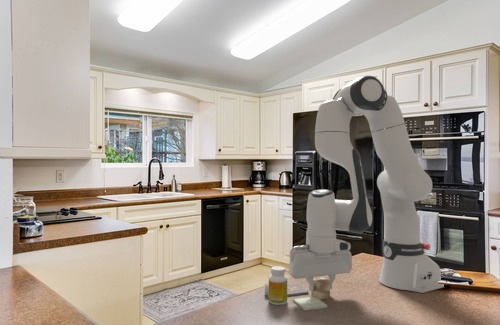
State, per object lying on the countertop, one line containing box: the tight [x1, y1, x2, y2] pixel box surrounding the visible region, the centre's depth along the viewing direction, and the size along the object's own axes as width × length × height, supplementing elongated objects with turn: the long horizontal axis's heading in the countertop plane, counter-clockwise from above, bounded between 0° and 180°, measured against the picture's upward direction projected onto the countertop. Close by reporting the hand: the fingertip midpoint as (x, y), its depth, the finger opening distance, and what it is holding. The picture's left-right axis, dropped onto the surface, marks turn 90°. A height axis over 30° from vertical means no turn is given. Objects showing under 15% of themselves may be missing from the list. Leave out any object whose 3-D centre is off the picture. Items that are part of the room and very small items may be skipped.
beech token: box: [310, 276, 331, 300], centre depth 107 cm, size 4×4×5 cm
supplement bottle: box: [268, 265, 288, 306], centre depth 102 cm, size 5×5×10 cm
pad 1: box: [287, 284, 309, 297], centre depth 111 cm, size 7×7×1 cm
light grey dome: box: [264, 281, 269, 298], centre depth 108 cm, size 5×5×3 cm
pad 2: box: [293, 296, 328, 311], centre depth 101 cm, size 7×7×1 cm
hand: (320, 289), depth 107 cm, fingers closed on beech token, 4 cm apart
